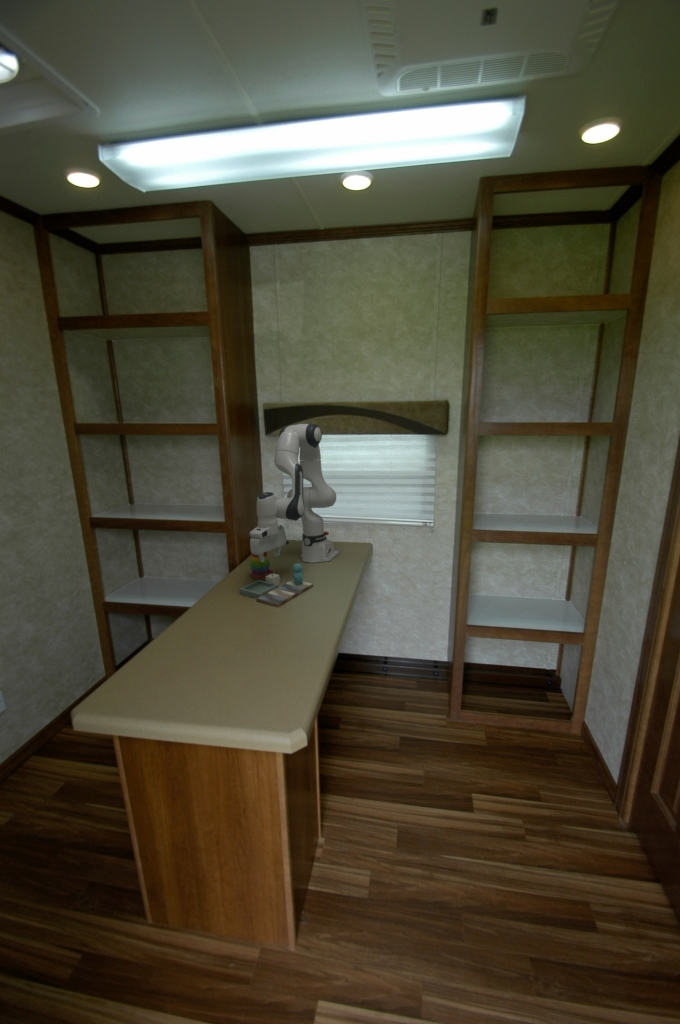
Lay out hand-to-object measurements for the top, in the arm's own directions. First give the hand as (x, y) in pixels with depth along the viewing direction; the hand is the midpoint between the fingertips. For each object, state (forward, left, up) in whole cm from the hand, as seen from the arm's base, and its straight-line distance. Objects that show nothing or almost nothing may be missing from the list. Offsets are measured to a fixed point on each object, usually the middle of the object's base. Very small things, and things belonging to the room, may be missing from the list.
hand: (270, 558), depth 193 cm
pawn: (-5, +12, -11) cm, 17 cm away
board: (+4, +12, -13) cm, 18 cm away
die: (-1, 0, -13) cm, 13 cm away
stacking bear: (-7, -13, -13) cm, 20 cm away
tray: (+8, 0, -13) cm, 15 cm away
